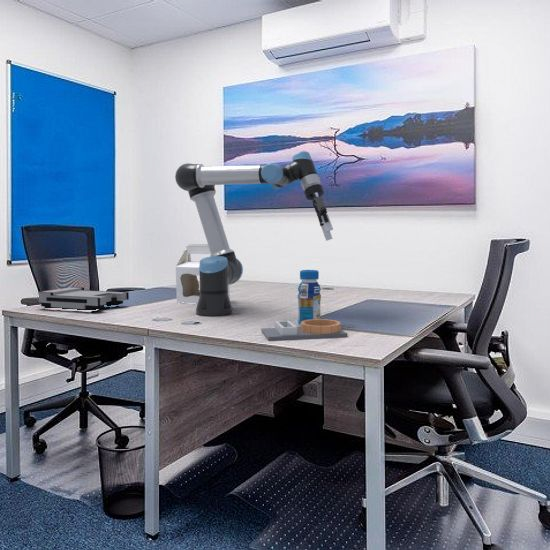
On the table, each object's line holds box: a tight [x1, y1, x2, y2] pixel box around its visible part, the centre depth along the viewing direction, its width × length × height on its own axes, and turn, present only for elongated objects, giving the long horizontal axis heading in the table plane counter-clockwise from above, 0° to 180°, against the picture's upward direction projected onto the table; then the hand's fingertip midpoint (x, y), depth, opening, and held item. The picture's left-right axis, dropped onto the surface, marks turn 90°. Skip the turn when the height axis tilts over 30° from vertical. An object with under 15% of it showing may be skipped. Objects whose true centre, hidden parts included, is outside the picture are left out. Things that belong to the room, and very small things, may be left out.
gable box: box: [175, 243, 231, 305], centre depth 243 cm, size 22×13×28 cm, turn 64°
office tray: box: [38, 286, 130, 310], centre depth 229 cm, size 21×32×8 cm, turn 69°
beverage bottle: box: [297, 269, 322, 327], centre depth 185 cm, size 8×8×20 cm
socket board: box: [260, 318, 348, 342], centre depth 170 cm, size 26×14×4 cm, turn 101°
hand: (329, 235), depth 203 cm, fingers open, 13 cm apart
